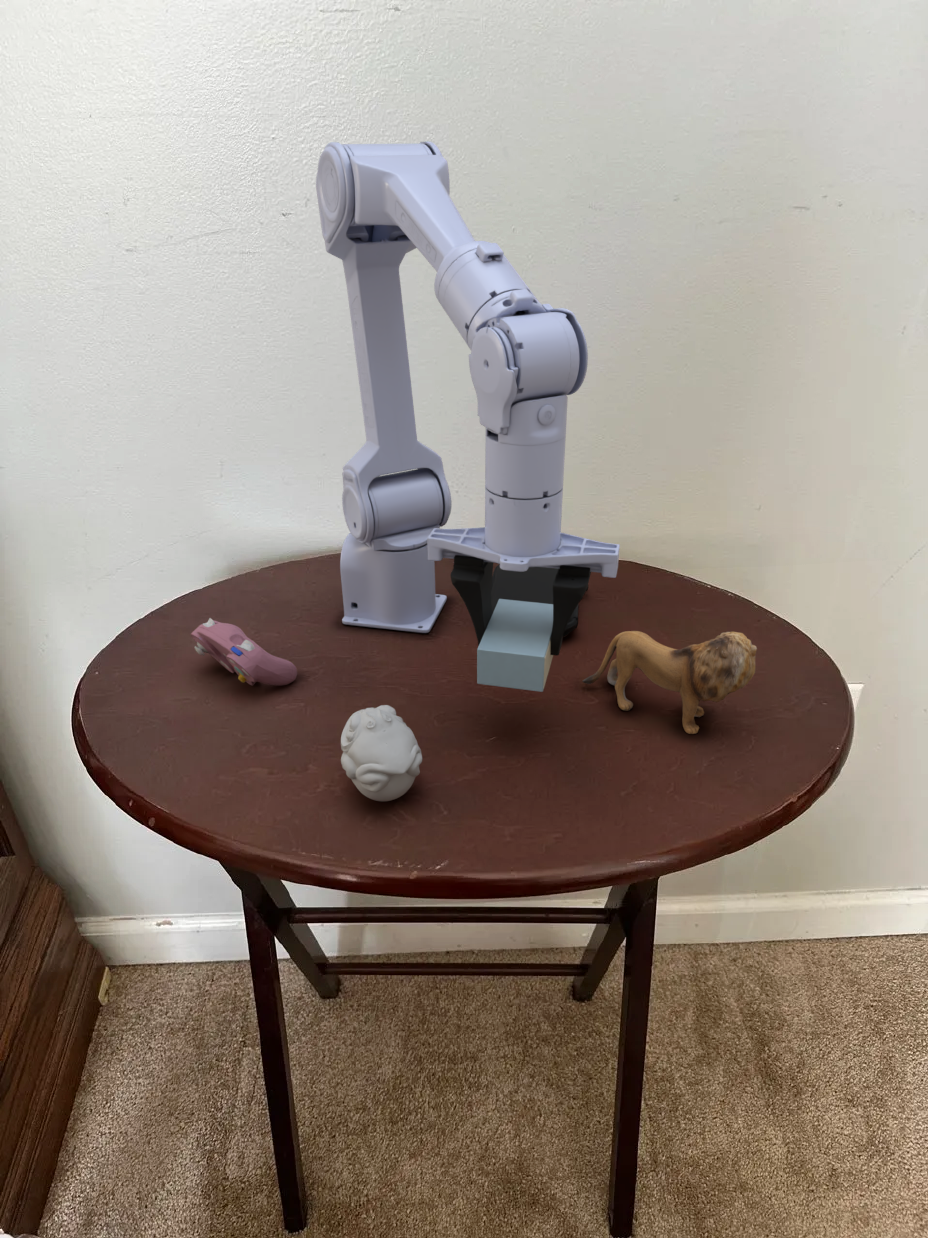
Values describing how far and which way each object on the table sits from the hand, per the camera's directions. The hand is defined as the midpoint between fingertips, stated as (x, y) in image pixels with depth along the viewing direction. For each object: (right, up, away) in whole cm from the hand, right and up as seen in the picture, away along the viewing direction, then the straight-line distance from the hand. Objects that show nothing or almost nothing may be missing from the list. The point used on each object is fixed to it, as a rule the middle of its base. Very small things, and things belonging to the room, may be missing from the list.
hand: (519, 644), depth 69 cm
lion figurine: (+13, -6, +6) cm, 16 cm away
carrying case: (+3, +3, +23) cm, 23 cm away
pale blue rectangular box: (0, -1, +1) cm, 1 cm away
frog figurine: (-11, -11, -3) cm, 16 cm away
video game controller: (-25, -3, +12) cm, 28 cm away
